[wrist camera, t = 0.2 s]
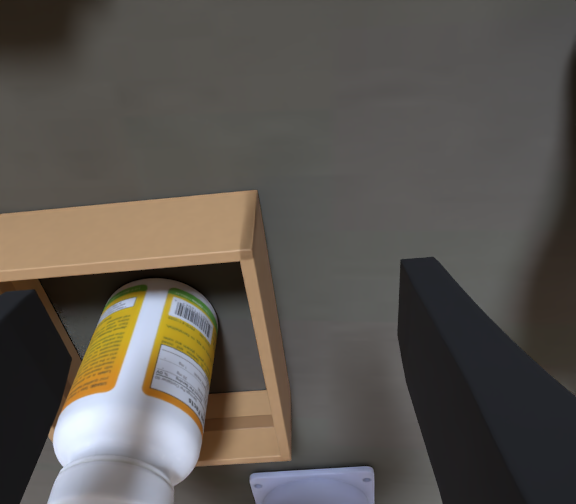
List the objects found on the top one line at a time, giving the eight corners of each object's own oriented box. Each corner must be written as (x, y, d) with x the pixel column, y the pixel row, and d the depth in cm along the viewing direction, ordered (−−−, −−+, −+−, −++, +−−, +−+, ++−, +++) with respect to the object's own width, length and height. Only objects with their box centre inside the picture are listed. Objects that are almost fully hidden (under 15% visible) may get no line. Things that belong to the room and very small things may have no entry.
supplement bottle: (109, 349, 25) (33, 557, 18) (101, 267, 22) (3, 478, 14) (216, 359, 26) (186, 566, 18) (223, 281, 23) (191, 491, 15)
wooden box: (291, 393, 28) (291, 461, 24) (97, 407, 28) (73, 474, 25) (258, 188, 20) (252, 248, 17) (-9, 213, 21) (-63, 275, 17)
